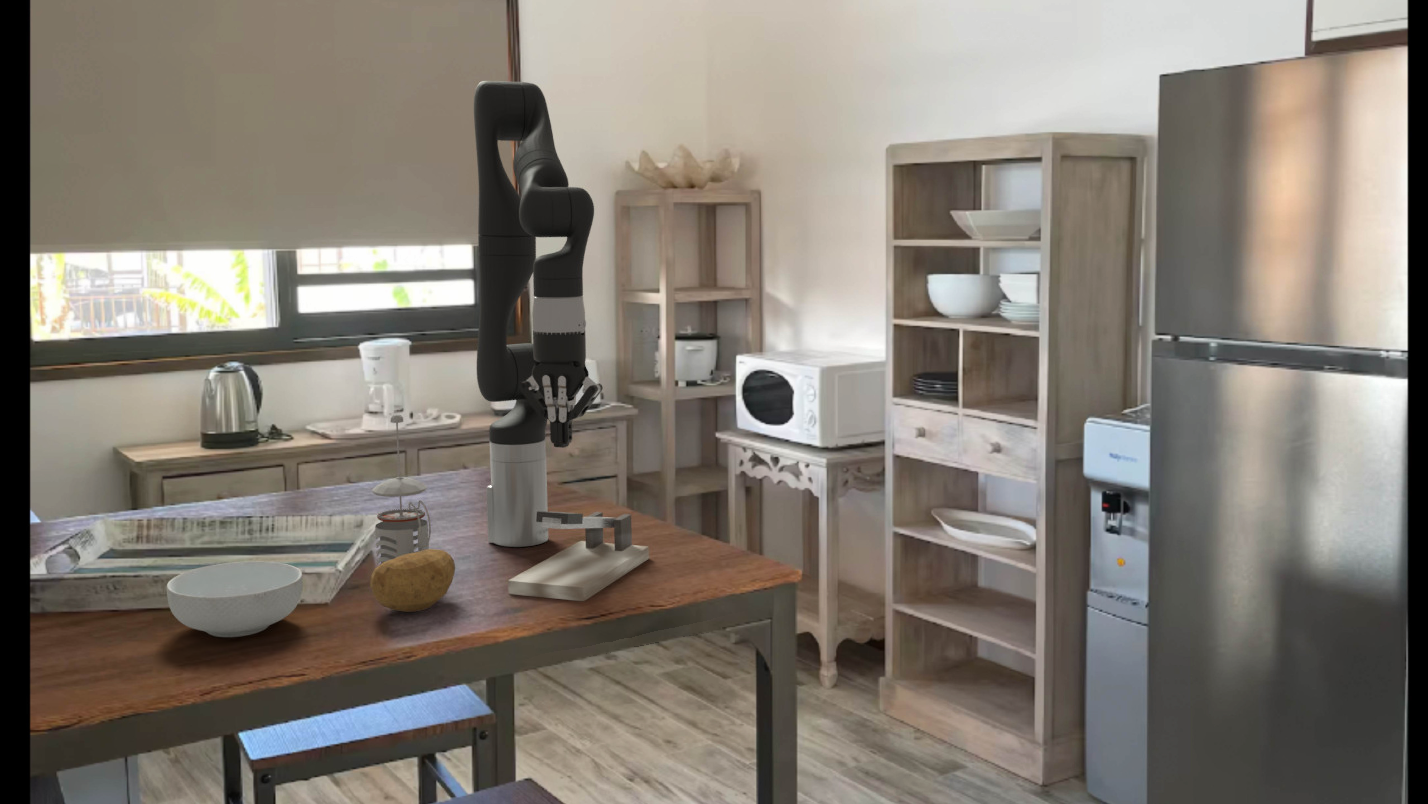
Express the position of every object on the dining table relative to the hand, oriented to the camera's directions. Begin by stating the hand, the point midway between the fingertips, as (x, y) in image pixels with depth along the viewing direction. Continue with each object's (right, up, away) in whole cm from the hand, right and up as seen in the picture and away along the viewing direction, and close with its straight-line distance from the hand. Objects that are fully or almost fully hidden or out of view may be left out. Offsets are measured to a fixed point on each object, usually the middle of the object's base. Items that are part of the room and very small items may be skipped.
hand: (561, 446), depth 187 cm
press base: (+2, -20, +8) cm, 22 cm away
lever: (+2, -12, +8) cm, 15 cm away
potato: (-19, -23, -7) cm, 31 cm away
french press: (-24, -20, +8) cm, 33 cm away
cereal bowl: (-41, -24, -15) cm, 50 cm away
